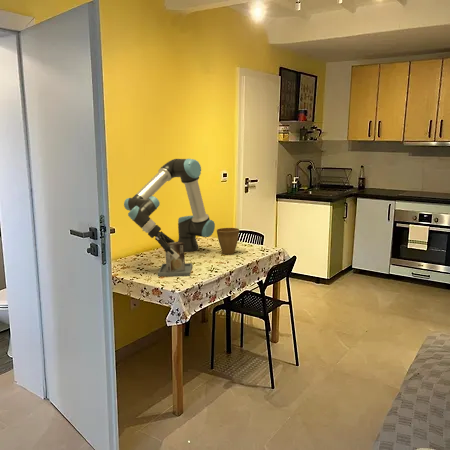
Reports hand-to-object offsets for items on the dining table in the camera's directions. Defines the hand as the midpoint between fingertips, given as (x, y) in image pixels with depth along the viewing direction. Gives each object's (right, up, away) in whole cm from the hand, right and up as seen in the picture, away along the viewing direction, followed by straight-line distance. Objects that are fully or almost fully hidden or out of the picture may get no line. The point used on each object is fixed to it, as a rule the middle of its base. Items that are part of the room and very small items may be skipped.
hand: (179, 254), depth 256 cm
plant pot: (+28, -2, +43) cm, 51 cm away
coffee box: (-2, -9, +1) cm, 10 cm away
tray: (-2, -10, +2) cm, 10 cm away
